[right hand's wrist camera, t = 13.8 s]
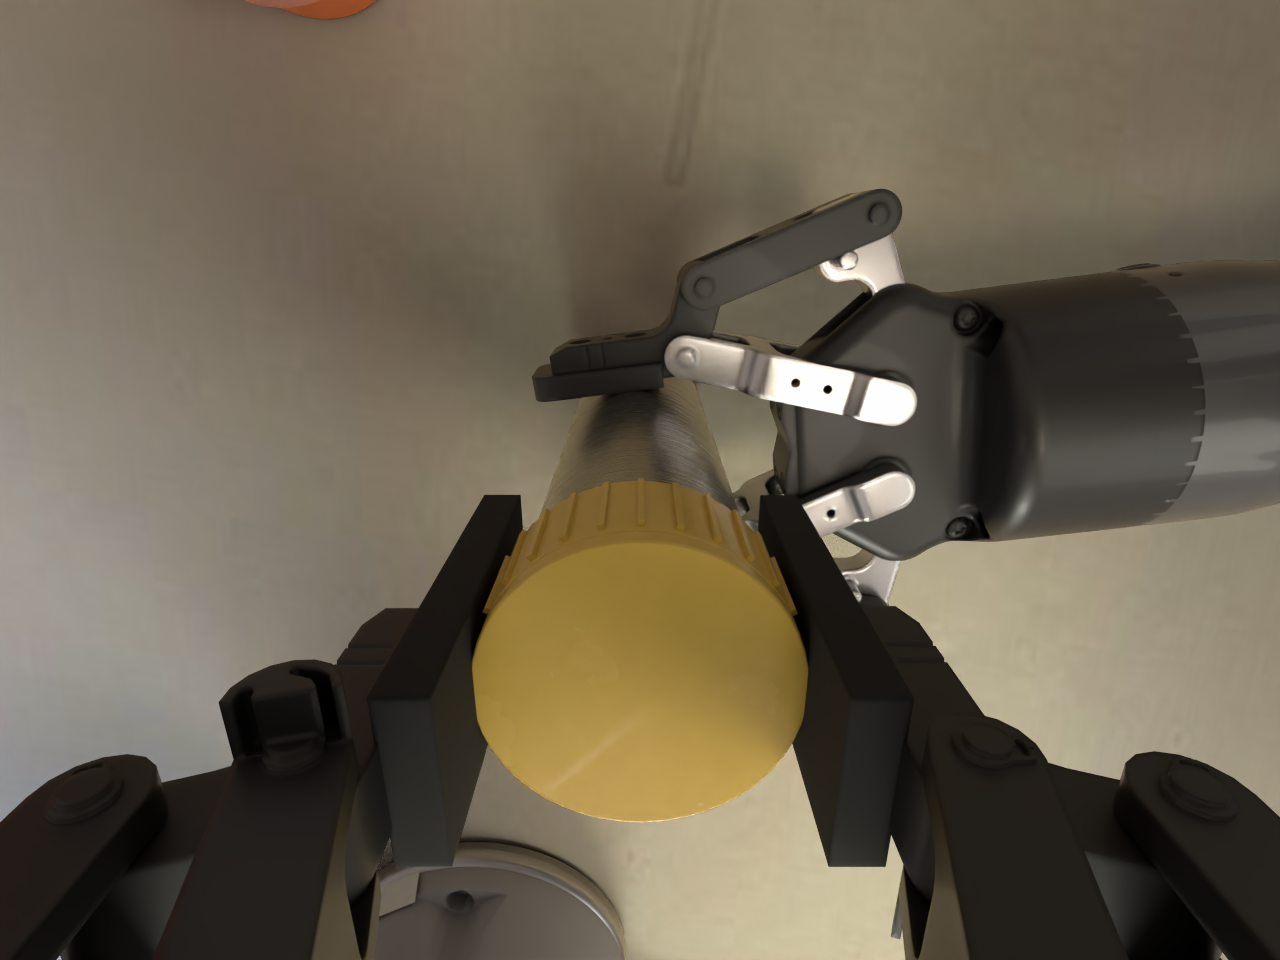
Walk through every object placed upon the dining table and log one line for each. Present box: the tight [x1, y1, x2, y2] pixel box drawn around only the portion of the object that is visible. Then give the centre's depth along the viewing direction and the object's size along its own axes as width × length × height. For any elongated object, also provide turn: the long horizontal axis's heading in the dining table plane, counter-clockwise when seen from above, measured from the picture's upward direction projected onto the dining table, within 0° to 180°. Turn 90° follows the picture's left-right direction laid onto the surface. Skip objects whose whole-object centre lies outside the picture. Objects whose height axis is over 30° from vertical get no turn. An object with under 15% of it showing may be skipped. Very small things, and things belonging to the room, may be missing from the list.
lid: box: [472, 479, 808, 822], centre depth 11 cm, size 5×5×2 cm
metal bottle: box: [539, 377, 739, 518], centre depth 19 cm, size 5×5×17 cm
